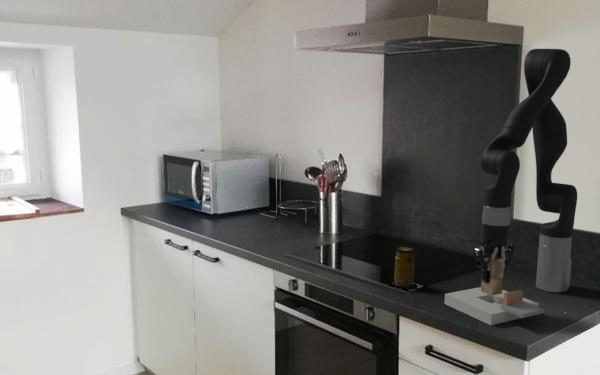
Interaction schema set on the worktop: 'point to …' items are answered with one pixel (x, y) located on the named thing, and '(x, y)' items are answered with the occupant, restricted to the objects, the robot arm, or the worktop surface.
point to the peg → (494, 278)
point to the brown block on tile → (519, 305)
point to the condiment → (405, 268)
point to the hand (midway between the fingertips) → (492, 281)
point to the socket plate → (482, 305)
